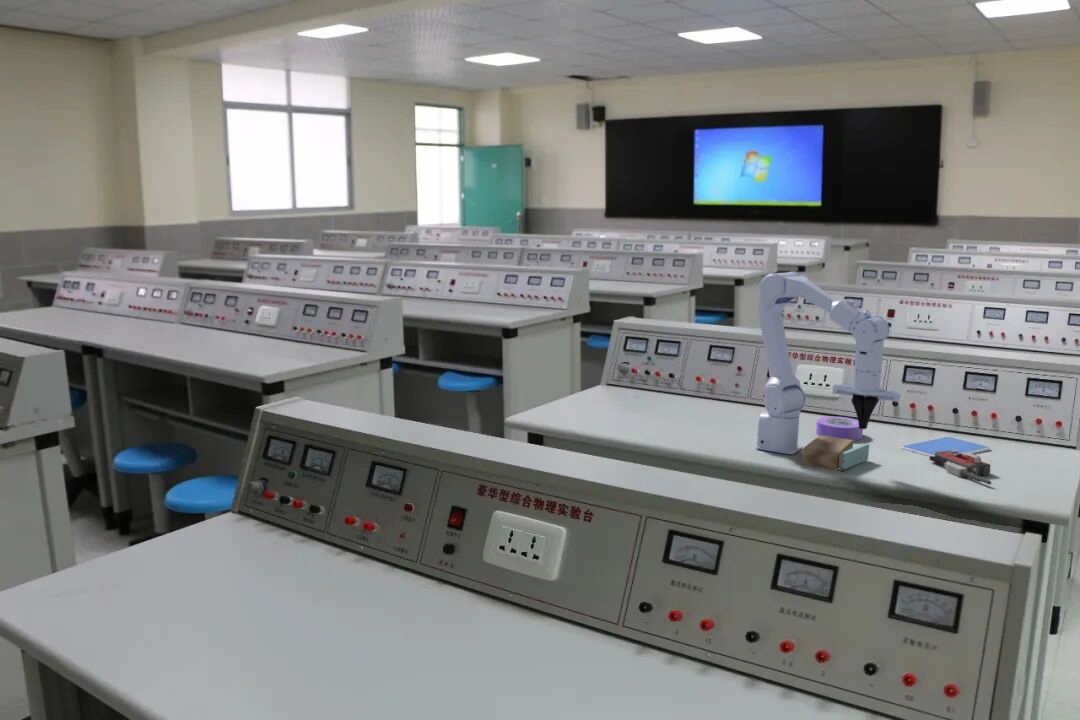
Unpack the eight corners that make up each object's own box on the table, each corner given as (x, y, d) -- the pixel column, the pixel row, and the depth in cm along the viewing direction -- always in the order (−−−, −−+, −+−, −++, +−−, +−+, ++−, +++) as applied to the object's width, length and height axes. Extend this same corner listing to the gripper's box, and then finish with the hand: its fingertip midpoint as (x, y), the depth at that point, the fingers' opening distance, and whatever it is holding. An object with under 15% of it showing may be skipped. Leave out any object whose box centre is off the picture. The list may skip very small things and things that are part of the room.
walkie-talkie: (920, 463, 209) (985, 489, 191) (922, 446, 209) (987, 470, 190) (951, 461, 212) (1017, 486, 193) (952, 443, 211) (1020, 467, 192)
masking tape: (854, 443, 226) (855, 429, 225) (809, 436, 233) (810, 422, 232) (867, 434, 235) (869, 420, 235) (824, 427, 242) (825, 414, 241)
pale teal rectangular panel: (843, 470, 201) (844, 454, 201) (839, 469, 202) (840, 453, 201) (868, 459, 210) (869, 444, 209) (864, 458, 211) (865, 443, 210)
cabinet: (801, 465, 206) (802, 447, 205) (818, 450, 218) (820, 433, 218) (841, 472, 201) (842, 453, 200) (857, 456, 213) (858, 439, 213)
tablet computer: (942, 463, 211) (943, 457, 211) (898, 450, 222) (898, 445, 221) (991, 452, 220) (992, 447, 220) (947, 440, 231) (947, 435, 231)
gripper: (830, 369, 200) (826, 426, 203) (897, 376, 192) (892, 436, 195) (838, 364, 206) (834, 420, 208) (904, 371, 198) (899, 429, 201)
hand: (863, 428), depth 202 cm, fingers closed
